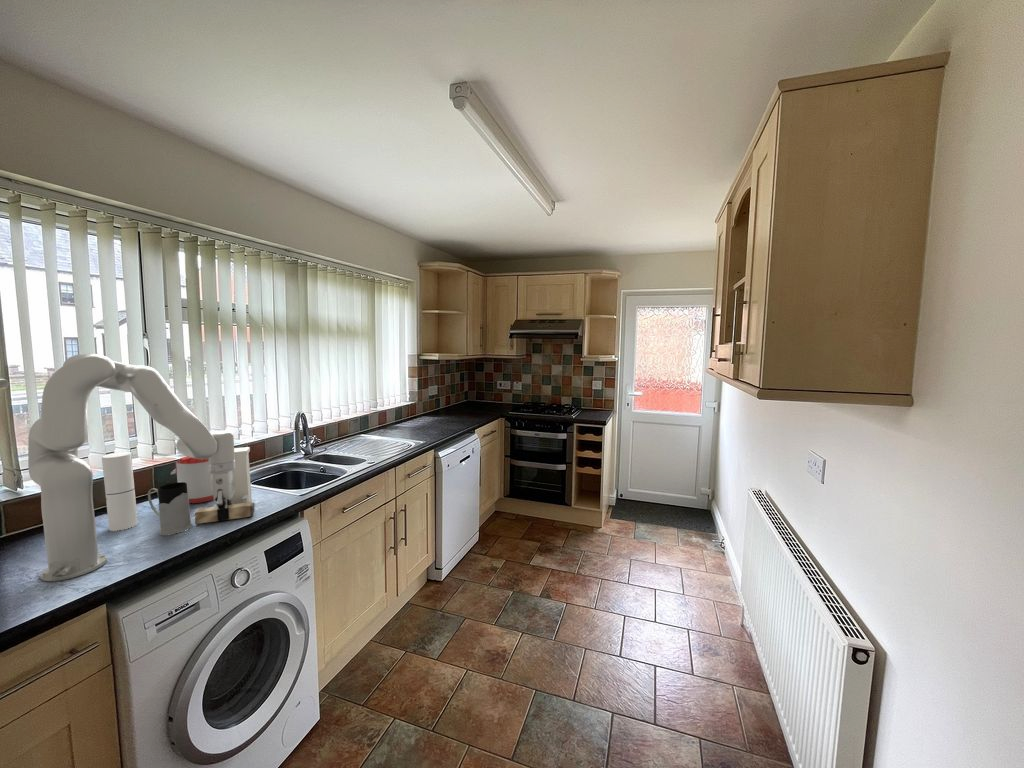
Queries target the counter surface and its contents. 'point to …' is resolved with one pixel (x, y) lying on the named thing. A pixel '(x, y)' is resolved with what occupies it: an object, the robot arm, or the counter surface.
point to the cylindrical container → (119, 491)
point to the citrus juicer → (195, 478)
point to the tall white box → (242, 476)
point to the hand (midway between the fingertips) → (225, 516)
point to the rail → (234, 512)
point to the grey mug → (172, 508)
